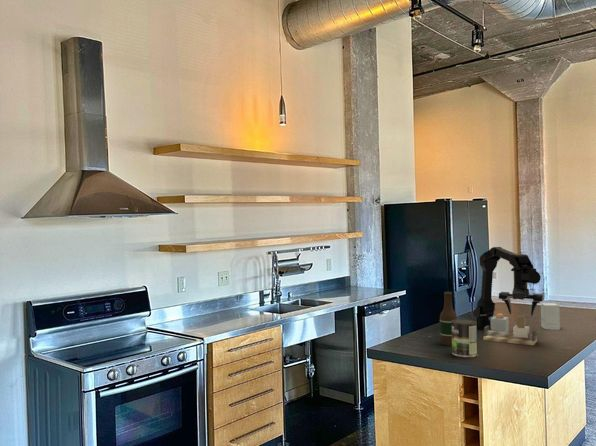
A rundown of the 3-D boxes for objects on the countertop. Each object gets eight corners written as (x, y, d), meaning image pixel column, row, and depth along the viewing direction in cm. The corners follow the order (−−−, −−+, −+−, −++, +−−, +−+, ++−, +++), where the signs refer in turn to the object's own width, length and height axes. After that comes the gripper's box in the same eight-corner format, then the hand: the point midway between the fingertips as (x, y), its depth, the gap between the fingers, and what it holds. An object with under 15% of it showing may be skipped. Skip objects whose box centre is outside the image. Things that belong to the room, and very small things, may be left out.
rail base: (483, 340, 241) (483, 328, 241) (488, 335, 249) (487, 324, 249) (533, 345, 229) (533, 333, 229) (537, 340, 237) (536, 329, 237)
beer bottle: (457, 342, 237) (457, 291, 237) (457, 346, 230) (456, 293, 230) (440, 341, 240) (439, 290, 240) (439, 345, 232) (438, 292, 232)
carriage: (513, 336, 236) (512, 316, 236) (515, 334, 241) (515, 314, 241) (527, 338, 232) (526, 317, 232) (529, 335, 237) (529, 315, 237)
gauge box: (490, 334, 252) (490, 318, 252) (493, 331, 258) (493, 316, 258) (505, 335, 249) (505, 319, 249) (508, 333, 254) (508, 317, 254)
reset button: (495, 320, 253) (495, 314, 253) (497, 319, 255) (496, 313, 255) (502, 320, 251) (502, 314, 251) (503, 319, 254) (503, 313, 254)
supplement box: (560, 330, 260) (559, 305, 260) (544, 329, 261) (544, 305, 261) (556, 327, 267) (555, 303, 267) (540, 326, 268) (540, 302, 268)
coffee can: (457, 357, 211) (456, 324, 211) (448, 351, 221) (447, 319, 221) (481, 356, 211) (480, 323, 211) (471, 350, 222) (470, 318, 222)
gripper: (495, 282, 235) (496, 316, 235) (540, 284, 225) (540, 319, 225) (500, 279, 244) (501, 312, 244) (543, 281, 234) (544, 315, 234)
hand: (521, 314), depth 237 cm, fingers open, 9 cm apart
